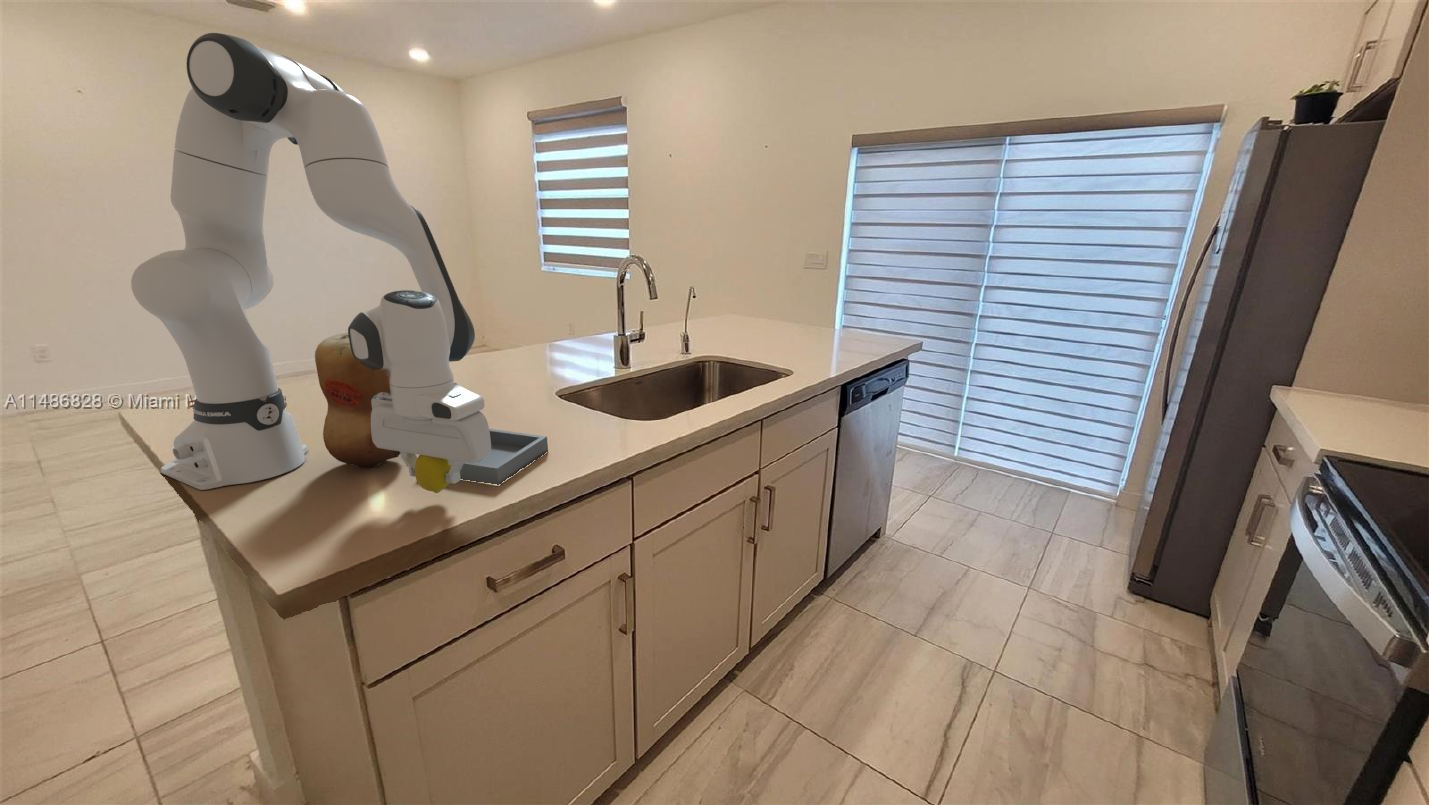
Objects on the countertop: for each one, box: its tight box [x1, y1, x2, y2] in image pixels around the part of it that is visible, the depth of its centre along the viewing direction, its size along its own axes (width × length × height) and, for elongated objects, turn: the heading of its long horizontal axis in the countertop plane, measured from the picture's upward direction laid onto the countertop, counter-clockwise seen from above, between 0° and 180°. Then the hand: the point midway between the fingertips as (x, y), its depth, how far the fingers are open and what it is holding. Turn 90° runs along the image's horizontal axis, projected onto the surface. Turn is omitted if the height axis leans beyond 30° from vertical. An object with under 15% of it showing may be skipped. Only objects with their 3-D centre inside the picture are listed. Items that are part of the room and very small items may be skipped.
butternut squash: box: [314, 331, 401, 468], centre depth 100 cm, size 14×13×25 cm
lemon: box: [414, 455, 452, 494], centre depth 90 cm, size 6×6×8 cm
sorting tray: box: [460, 428, 549, 485], centre depth 105 cm, size 16×16×4 cm
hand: (435, 478), depth 90 cm, fingers closed on lemon, 6 cm apart
